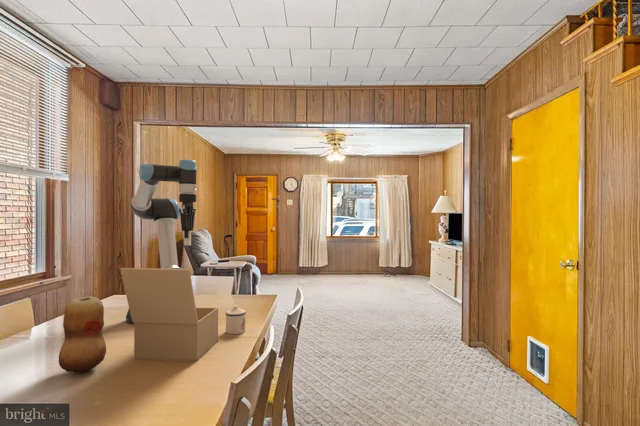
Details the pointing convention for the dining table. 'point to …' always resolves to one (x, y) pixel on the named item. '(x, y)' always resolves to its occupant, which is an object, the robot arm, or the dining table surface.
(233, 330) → the teacup with lid
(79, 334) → the butternut squash
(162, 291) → the carton lid
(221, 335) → the dining table surface
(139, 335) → the carton
